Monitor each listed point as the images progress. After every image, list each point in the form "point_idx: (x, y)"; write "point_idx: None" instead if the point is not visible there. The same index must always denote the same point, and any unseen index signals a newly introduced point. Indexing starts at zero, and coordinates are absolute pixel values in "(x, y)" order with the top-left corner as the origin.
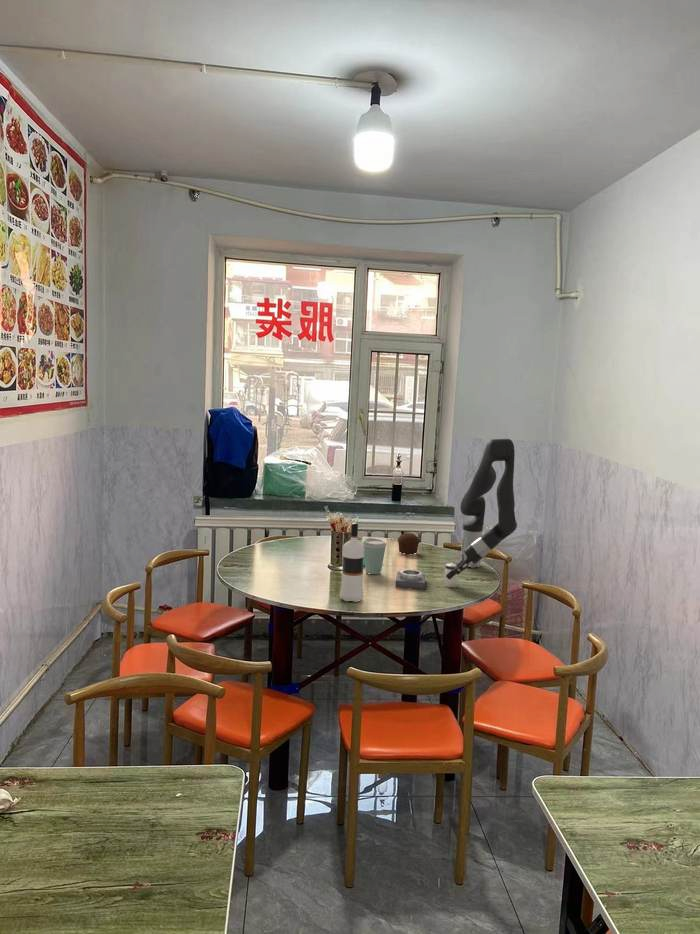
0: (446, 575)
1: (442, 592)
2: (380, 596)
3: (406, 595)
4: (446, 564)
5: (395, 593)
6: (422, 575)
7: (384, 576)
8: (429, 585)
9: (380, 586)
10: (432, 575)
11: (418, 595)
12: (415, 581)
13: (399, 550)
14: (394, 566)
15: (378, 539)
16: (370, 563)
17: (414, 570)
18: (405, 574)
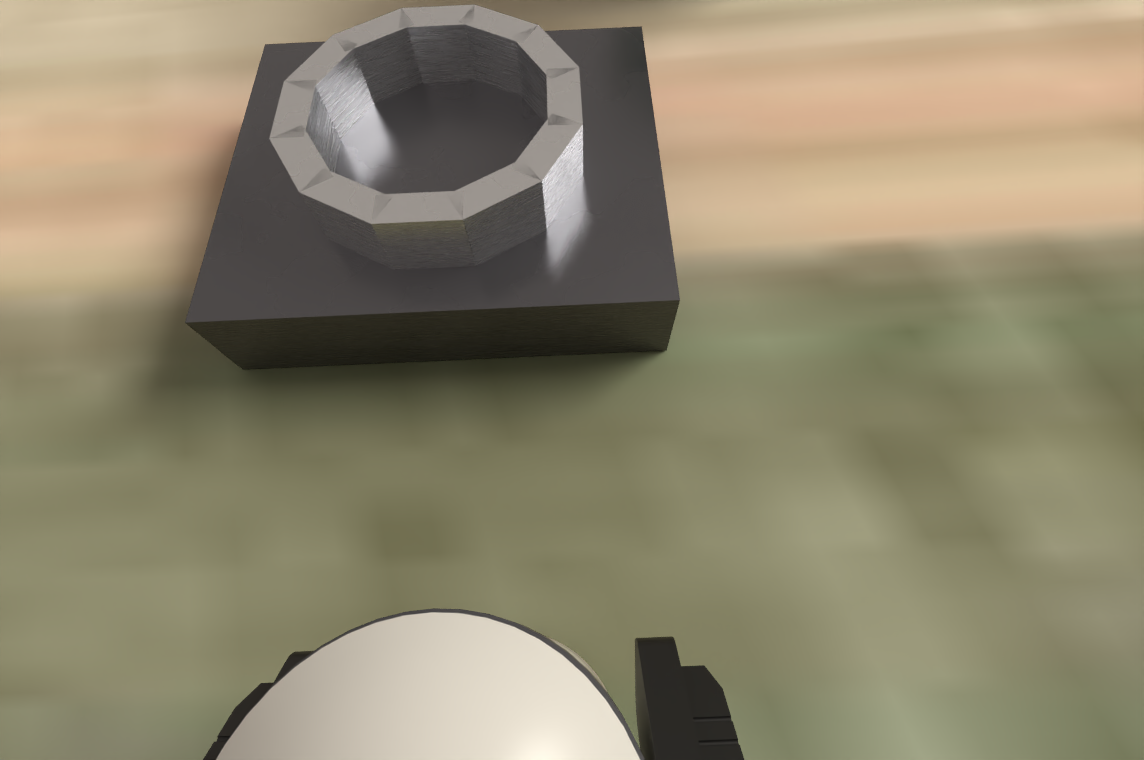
0: (289, 660)
1: (131, 610)
2: (24, 48)
3: (33, 216)
4: (446, 638)
5: (107, 131)
6: (561, 271)
7: (654, 12)
8: (450, 417)
9: (321, 20)
10: (971, 432)
11: (20, 321)
12: (240, 213)
13: None
14: (1076, 41)
15: None
16: None
17: (545, 129)
18: (309, 58)
